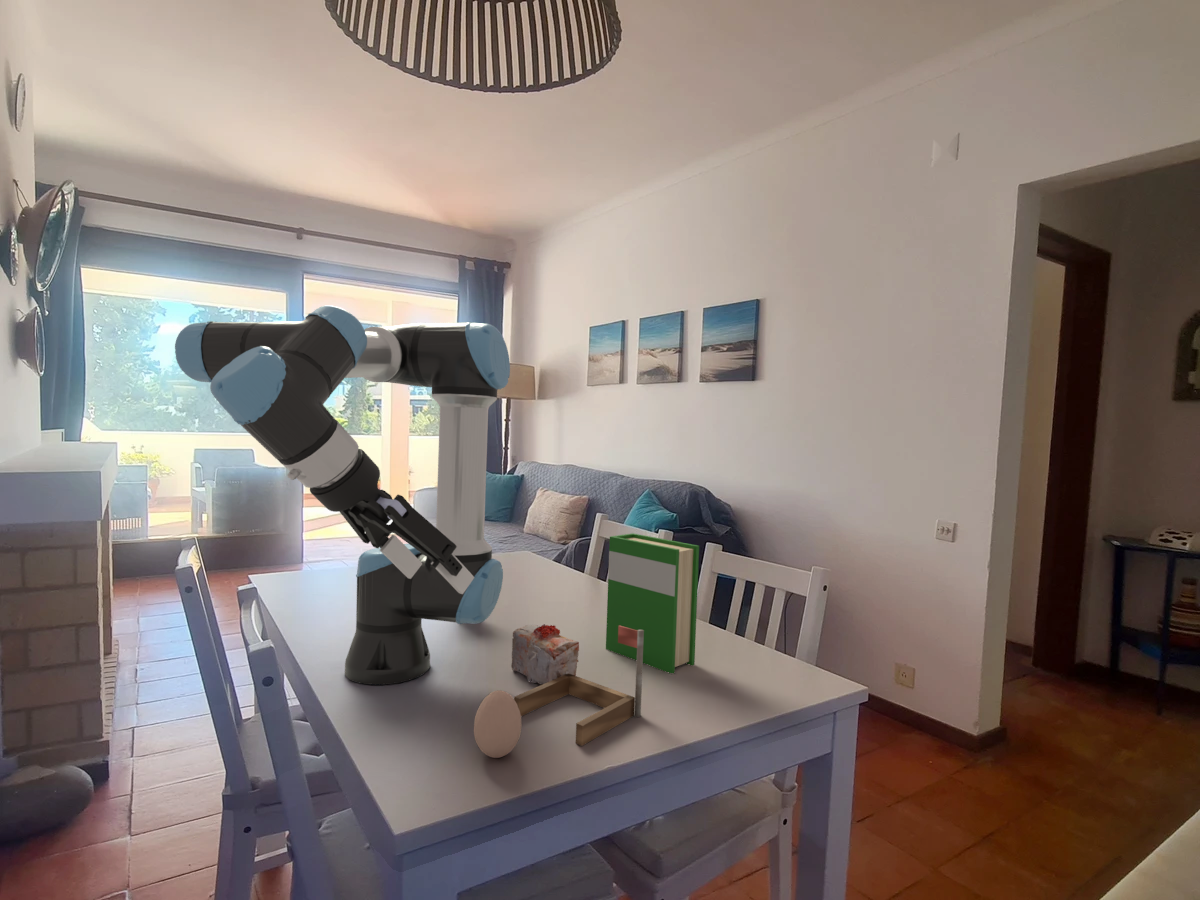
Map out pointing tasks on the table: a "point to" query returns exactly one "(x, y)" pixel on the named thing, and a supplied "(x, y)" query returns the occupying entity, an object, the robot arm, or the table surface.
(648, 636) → the hardback book
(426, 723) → the table surface
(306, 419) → the robot arm
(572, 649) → the food item
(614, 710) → the mini golf hole
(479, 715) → the egg
